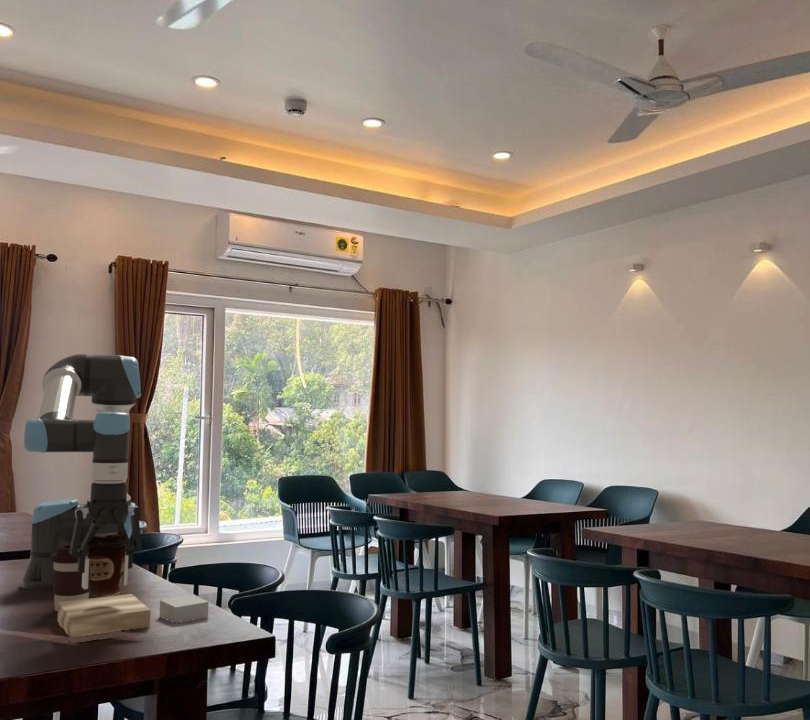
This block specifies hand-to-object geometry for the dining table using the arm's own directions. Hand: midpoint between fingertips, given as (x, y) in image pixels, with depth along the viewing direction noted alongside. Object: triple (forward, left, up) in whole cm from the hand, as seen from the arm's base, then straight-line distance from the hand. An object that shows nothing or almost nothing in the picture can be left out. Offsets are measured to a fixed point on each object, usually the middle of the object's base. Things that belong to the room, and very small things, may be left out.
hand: (104, 585), depth 169 cm
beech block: (0, 0, -9) cm, 9 cm away
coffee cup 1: (-20, -3, -10) cm, 22 cm away
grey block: (+3, +17, -10) cm, 20 cm away
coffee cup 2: (+1, 0, -2) cm, 2 cm away
